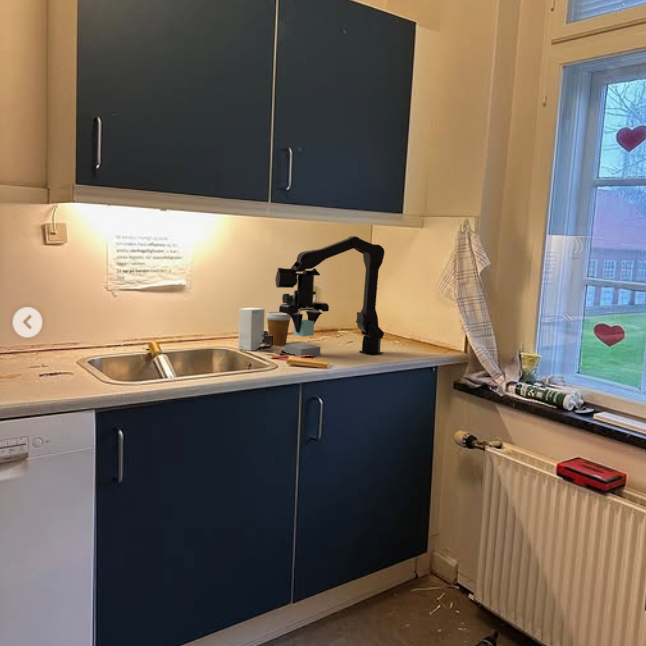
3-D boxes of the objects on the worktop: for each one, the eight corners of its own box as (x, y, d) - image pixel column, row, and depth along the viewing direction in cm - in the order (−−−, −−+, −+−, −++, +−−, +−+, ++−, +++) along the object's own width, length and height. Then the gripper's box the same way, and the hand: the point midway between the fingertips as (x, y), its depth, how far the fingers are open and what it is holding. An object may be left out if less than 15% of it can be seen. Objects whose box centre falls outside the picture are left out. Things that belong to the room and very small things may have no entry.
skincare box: (250, 351, 223) (252, 310, 221) (237, 349, 226) (238, 308, 224) (264, 348, 230) (265, 308, 228) (250, 346, 233) (252, 306, 231)
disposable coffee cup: (292, 343, 243) (293, 312, 241) (286, 347, 234) (288, 315, 232) (268, 341, 245) (269, 310, 243) (262, 345, 235) (263, 313, 234)
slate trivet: (303, 350, 229) (303, 342, 229) (320, 355, 223) (320, 346, 222) (284, 353, 223) (284, 344, 223) (300, 357, 216) (301, 349, 216)
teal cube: (304, 333, 225) (304, 319, 224) (313, 335, 222) (314, 321, 221) (293, 334, 222) (294, 320, 221) (302, 336, 218) (303, 322, 217)
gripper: (310, 285, 231) (308, 326, 234) (270, 286, 219) (268, 330, 221) (330, 288, 223) (328, 331, 226) (290, 289, 211) (288, 335, 213)
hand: (303, 332), depth 222 cm, fingers closed on teal cube, 5 cm apart
